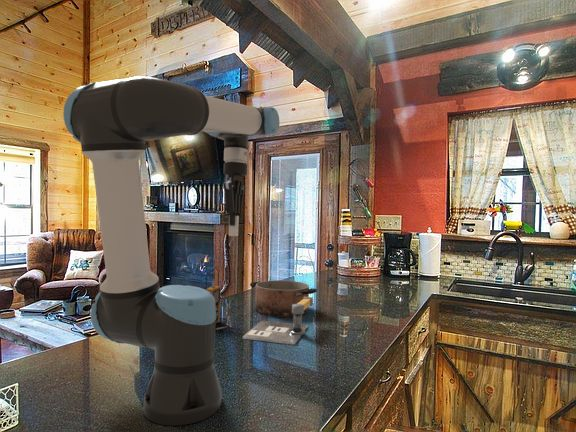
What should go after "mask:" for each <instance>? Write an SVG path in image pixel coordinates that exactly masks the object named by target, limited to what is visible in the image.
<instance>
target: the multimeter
mask: <svg viewBox="0 0 576 432" xmlns="http://www.w3.org/2000/svg"><path fill="white" fill-rule="evenodd" d="M215 269H217V274H218V275H217V285H216V281H215V275H216V274H215ZM209 271H211V273H212V276H213V279H212V281H211V282H212V283H211V286H210V287H208V286H207V285H208V284H207V281H208V274H209ZM219 271H220V270H219V268H218V267H215V266H214V267H213V270H212V269H208V270H207V272H206V276H205V277H206V278H205V290H207V291H209V292H210V293H211V294H212V295H213V297H214V298H215V307H216V322H215V325H216V324H217V323H219V322H220V319H221V320H225V321H223V322H222V323H223V324H224V325H226V326H227V327H230V328H233V326H231V324H229V323H227V322H228V320H227V319H226V318H222V317H221V290H222V289H221V286H220V284H219V279H220V277H219V276H220V272H219ZM226 326H221V327H217V328H216V327H215V331H216V330H222V329H224V328H225V329H226Z"/></svg>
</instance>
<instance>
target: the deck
mask: <svg viewBox="0 0 576 432" xmlns="http://www.w3.org/2000/svg"><path fill="white" fill-rule="evenodd" d="M292 319H293V323H291V322H290V323H289V322H280V321H272V320H271V321H270V320H264V319H262V320H261V321H259V322H258V323H257V324H255V326H254V327H252V328H251V329H250V330H249V331H247V332H246V333H245V334H244V335H243V336H242V339H243V340H249V341H251V340H252V341H257V342H258V341H259V342H268V343H275V344H283V345H291V346H293V345H294V346H296V344H297V343H298V341H299V339H300V338H301V337H302V335H305V334H306V330H307V328H308V324H303V322H302V320H303V315H302V314H294V315H293V318H292ZM269 326H274V327H283V328H289V330H288V331H287V332H286V333H285V334H283V333H274V332H273V333H272V334H271V335H270V336H269V337H268V338H263V337H254V336H247V334H248V333H249V332H250V331H252V330H258V331H265V330H266V329H267V328H268V327H269Z"/></svg>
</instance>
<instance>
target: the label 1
mask: <svg viewBox="0 0 576 432" xmlns="http://www.w3.org/2000/svg"><path fill="white" fill-rule="evenodd" d="M249 331H250V330H249ZM249 331H248V332H249ZM272 333H273V332H267V331H258V330H252V331H250V332H249V333H248V334H247V336H254V337H263V338H268V337H269V336H270V335H271V334H272Z"/></svg>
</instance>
